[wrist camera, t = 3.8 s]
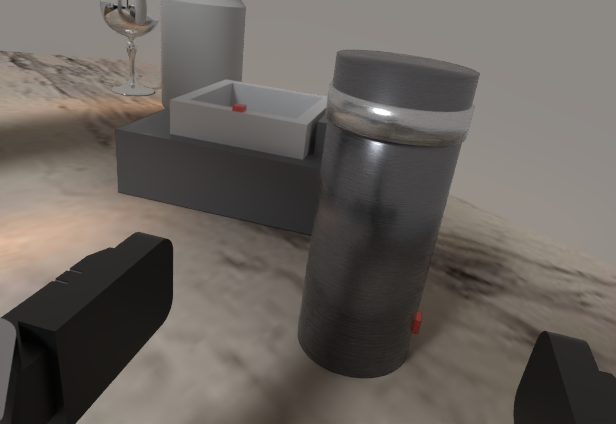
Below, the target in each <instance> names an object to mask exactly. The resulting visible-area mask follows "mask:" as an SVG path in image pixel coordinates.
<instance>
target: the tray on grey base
mask: <svg viewBox="0 0 616 424" xmlns="http://www.w3.org/2000/svg"><path fill="white" fill-rule="evenodd" d="M327 98H328V97H326V96H321V95H314V94H309V93H303V92H297V91H291V90H285V89H279V88H273V87H267V86H262V85H255V84H250V83H244V82H238V81H233V80H227V79H226V80H223V81H220V82H218V83H215V84H212V85H209V86H206V87H204V88H201V89H198V90H195V91H193V92H190V93H187V94H184V95H182V96H179V97H176V98H173V99H171V100H170V108H167V109H164V110H162V111H159V112H157V113H154V114H152V115H149V116H146V117H144V118H141V119H139V120H136V121H134V122H131V123H128V124H126V125H123V126H121V127H118V128H116V129H115V135H116V155H117V175H118V192H120V193H125V194H129V195H133V196H138V197H142V198H147V199H151V200H156V201H160V202H165V203H169V204H174V205H178V206H183V207H187V208H192V209H196V210H201V211H205V212H210V213H214V214H219V215H223V216H228V217H232V218H236V219H241V220H245V221H250V222H254V223H259V224H263V225H268V226H272V227H277V228H281V229H286V230H290V231H295V232H299V233H304V234H308V235H311V234H312V226H313V219H314V212H315V205H316V198H317V191H318V184H319V177H320V169H321V162H322V155H323V148H324V141H325V134H326V127H327V120H328V119H327V118H326V116H325V113H326V105H327Z"/></svg>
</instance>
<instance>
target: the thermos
mask: <svg viewBox="0 0 616 424" xmlns="http://www.w3.org/2000/svg"><path fill="white" fill-rule="evenodd" d="M479 76H480V74H479V72H477V71H475V70H473V69H470V68H467V67H464V66H460V65H457V64H453V63H448V62H444V61H439V60H434V59H429V58H423V57H418V56H412V55H405V54H398V53H389V52H380V51H368V50H341V51H338V52H337V56H336V63H335V70H334V77H333V81H332V82H330V84H329V91H328V98H327V105H326V113H325V116H326V118H327V119H328V120H327V127H326V134H325V141H324V148H323V155H322V162H321V169H320V177H319V184H318V191H317V198H316V205H315V212H314V219H313V226H312V234H311V241H310V248H309V255H308V262H307V269H306V276H305V283H304V290H303V298H302V305H301V312H300V319H299V326H298V339H299V343H300V345H301V347H302V348H303V350H304V351H305V353H306V354H307V355H308V356H309V357H310V358H311V359H312V360H313V361H315V362H316V363H318V364H319V365H320V366H322V367H324V368H326V369H328V370H330V371H332V372H335V373H338V374H341V375H345V376H349V377H357V378H373V377H379V376H383V375H386V374H388V373H391V372H393V371H394V370H396V369H397V368H398V367H399V366H400V365H401V364H402V363H403V362H404V360H405V358H406V354H407V350H408V347H409V343H410V339H411V335H412V333H415V334H418V332H419V328H420V324H421V318H422V313H421V312H418V308H419V305H420V301H421V297H422V293H423V289H424V286H425V282H426V278H427V274H428V270H429V266H430V263H431V259H432V255H433V251H434V247H435V244H436V240H437V236H438V232H439V228H440V224H441V221H442V217H443V213H444V209H445V205H446V202H447V198H448V194H449V190H450V186H451V182H452V179H453V175H454V171H455V167H456V163H457V159H458V155H459V152H460V148H461V144H462V142H464V141H465V140H466V138H467V134H468V130H469V127H470V123H471V119H472V115H473V112H474V107H475V106H474V105H473V104H472V102H473V99H474V95H475V91H476V87H477V83H478V79H479Z"/></svg>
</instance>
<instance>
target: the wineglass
mask: <svg viewBox="0 0 616 424" xmlns="http://www.w3.org/2000/svg"><path fill="white" fill-rule="evenodd" d="M100 8H101V13H102V16H103V19H104V21H105V23H106V24H107V25H108V26H109V27H110V28H111V29H112V30H114V31H116V32H117V33H119V34H121V35H124V36H126V37H128V38H129V41H128V43H127V52H128V55H129V59H130V79H129V81H128V83H126V84H125V85H122V86H115V87H113V88H112V89H111V90H112V91H113V92H115V93H118V94H123V95H133V96H142V95H150V94H153V93H154V90H153V89H151V88H148V87H144V86H142V85H140V84H139V83H138V82H137V81H136V78H135V65H134V63H135V55H136V52H137V46H136V43H135V41H134V39H135V38H136V37H140V36H143V35H146V34H148V33H150V32H151V31H153V30H154V29H155V27H156V26H157V24H158V21H159V14H160V3H159V0H100Z"/></svg>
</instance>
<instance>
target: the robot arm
mask: <svg viewBox="0 0 616 424" xmlns="http://www.w3.org/2000/svg"><path fill="white" fill-rule="evenodd" d="M172 300H173V246H172V242H171V241H170V240H169V239H166V238H162V237H157V236H153V235H149V234H145V233H141V232H136V233H134V234H132V235H131V236H130V237H128V238H127V239H126V240H124V241H123V242H122V243H120V244H119V245H118V246H116V247H115V248H111V247H110V248H107V249H105V250H102V251H99V252H96V253H94V254H91V255H88V256H86V257H85V258H84V259H82V260H81V261H79V262H78V263H77V264H75V265H74V266H72V267H71V268H70V271H65V272H64V273H63V274H61V275H60V276H59V277H57V278H56V280H55V282H54V281H52V282H50V283H49V284H47V285H46V286H45V287H43V288H42V289H40V290H39V291H38V292H36V293H35V294H33V295H32V296H31V297H29V298H28V299H26V300H25V301H24V302H22V303H21V304H19V305H18V306H17V307H15V308H14V309H12V310H11V311H10V312H8V313H7V314H5V315H4V316H3V317H1V318H0V424H76V423H77V421H78V420H79V419H80V418H81V417H82V416H83V415H84V413H85V412H86V411H87V410H88V409H89V408H90V407H91V405H92V404H93V403H94V402H95V401H96V400H97V398H98V397H99V396H100V395H101V394H102V393H103V392H104V390H105V389H106V388H107V387H108V386H109V385H110V384H111V382H112V381H113V380H114V379H115V378H116V377H117V376H118V374H119V373H120V372H121V371H122V370H123V369H124V368H125V366H126V365H127V364H128V363H129V362H130V361H131V360H132V358H133V357H134V356H135V355H136V354H137V353H138V352H139V350H140V349H141V348H142V347H143V346H144V345H145V344H146V342H147V341H148V340H149V339H150V338H151V337H152V336H153V334H154V333H155V332H156V331H157V330H158V329H159V328H160V326H161V325H162V324H163V323H164V321H165V320H166V318H167V316H168V314H169V312H170V309H171V305H172ZM514 424H616V378H615V377H614V376H613V375H612V374H610V373H606V372H602V371H599V369H598V367H597V364H596V362H595V360H594V357H593V355H592V352H591V350H590V347H589V345H588V343H587V342H586V341H584V340H580V339H576V338H572V337H568V336H564V335H560V334H556V333H551V332H547V331H543V332H542V333H541V334H540V335H539V337H538V339H537V341H536V343H535V346H534V348H533V351H532V353H531V356H530V358H529V361H528V364H527V366H526V369H525V371H524V374H523V376H522V379H521V381H520V384H519V386H518V389H517V392H516V396H515V402H514Z"/></svg>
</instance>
